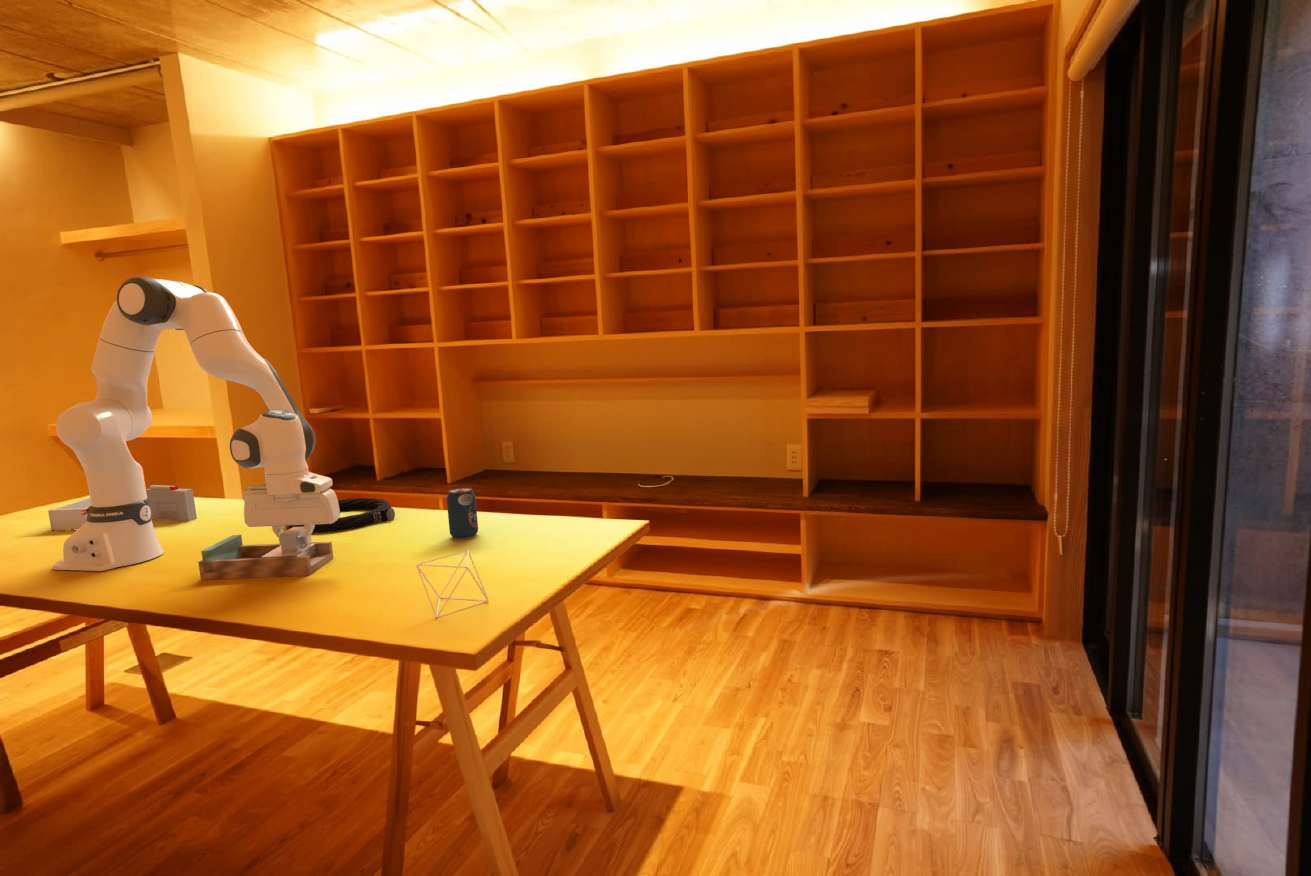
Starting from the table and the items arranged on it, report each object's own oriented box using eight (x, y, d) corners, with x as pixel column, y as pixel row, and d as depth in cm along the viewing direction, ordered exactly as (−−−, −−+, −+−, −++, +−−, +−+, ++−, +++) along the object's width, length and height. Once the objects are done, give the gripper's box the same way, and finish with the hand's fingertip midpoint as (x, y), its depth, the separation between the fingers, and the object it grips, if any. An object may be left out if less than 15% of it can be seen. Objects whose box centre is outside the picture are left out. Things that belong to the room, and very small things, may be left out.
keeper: (262, 568, 167) (258, 537, 166) (282, 555, 176) (279, 526, 175) (298, 566, 167) (294, 535, 166) (317, 553, 176) (313, 524, 175)
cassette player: (197, 519, 223) (192, 485, 221) (188, 521, 220) (183, 487, 219) (157, 517, 228) (152, 484, 226) (149, 519, 225) (143, 486, 224)
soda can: (478, 538, 188) (474, 491, 186) (449, 541, 186) (445, 493, 184) (478, 531, 195) (474, 485, 193) (450, 534, 193) (446, 488, 191)
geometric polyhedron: (413, 606, 145) (408, 560, 143) (464, 590, 152) (460, 546, 150) (444, 623, 136) (439, 575, 134) (497, 605, 143) (493, 559, 141)
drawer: (200, 579, 166) (196, 550, 165) (232, 562, 178) (228, 535, 177) (309, 575, 166) (305, 546, 165) (333, 558, 177) (330, 531, 176)
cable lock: (325, 496, 229) (416, 496, 223) (327, 508, 230) (418, 508, 224) (261, 520, 203) (362, 521, 196) (263, 534, 203) (364, 535, 197)
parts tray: (51, 531, 216) (48, 510, 215) (110, 510, 239) (107, 491, 238) (96, 529, 216) (92, 508, 215) (151, 508, 239) (148, 490, 238)
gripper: (233, 488, 166) (242, 549, 168) (326, 484, 165) (333, 546, 167) (249, 482, 172) (257, 541, 174) (339, 478, 171) (345, 537, 174)
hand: (295, 543), depth 171 cm, fingers closed on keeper, 3 cm apart
